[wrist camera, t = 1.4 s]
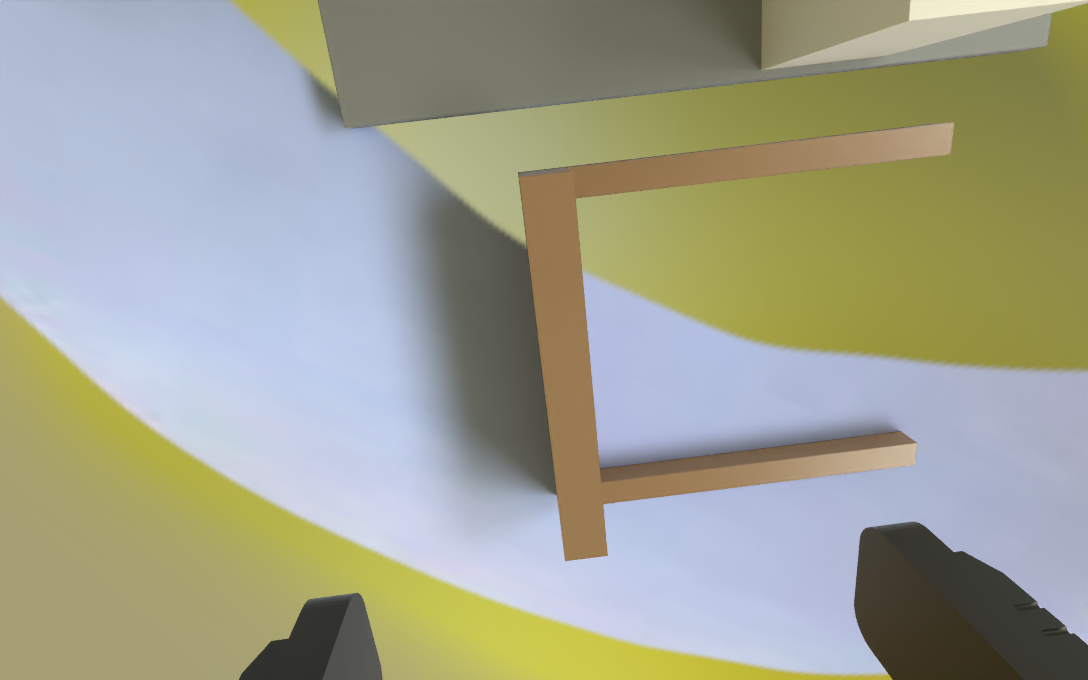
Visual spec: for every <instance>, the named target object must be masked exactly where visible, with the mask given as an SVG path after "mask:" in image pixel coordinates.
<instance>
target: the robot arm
mask: <svg viewBox="0 0 1088 680" xmlns="http://www.w3.org/2000/svg"><path fill="white" fill-rule="evenodd" d="M854 607H855V614H856V619H857V622H858V625H859V628H860V631H861V633H862V635H863V637H864V639H865V641H866V643H867V645H868V646H869V648H870V649H871V650H872V652H873V653H874V655H875V656H876V657H877V659H878V660H879V661H880V663H881V664H882V666H883V667H884V668H885V670H886V671H887V672H888V674H889V675H890V676H891V678H892V679H893V680H1088V645H1087V644H1086V643H1085V642H1084V641H1082V640H1081V639H1080V638H1079V637H1078V636H1077V635H1075V634H1074V633H1073V634H1070V633H1069V632H1068V631H1067V629H1066V626H1065V625H1064V624H1062V623H1061V622H1060V621H1059V620H1058V619H1057V618H1055V617H1054V616H1053V615H1052V614H1051V613H1050V612H1048V611H1047V610H1046V609H1045V608H1039V606H1038V604H1037V601H1035V600H1034V599H1033V598H1032V597H1031V596H1030V595H1028V594H1027V593H1026V592H1025V591H1024V590H1022V589H1021V588H1020V587H1019V586H1018V585H1017V584H1015V583H1014V582H1013V581H1012V580H1011V579H1010V578H1008V577H1007V576H1006V575H1005V574H1004V573H1002V572H1000V571H998V570H996V569H994V568H993V567H991V566H989V565H987V564H985V563H983V562H981V561H980V560H978V559H976V558H974V557H972V556H970V555H968V554H967V553H965V552H963V551H960V552H953V551H952V550H951V549H950V548H948V547H947V546H946V545H945V544H944V543H943V542H942V541H941V540H940V539H938V538H937V537H936V536H935V535H934V534H933V533H932V532H931V531H930V530H928V529H927V528H926V527H925V526H923V525H922V524H920V523H917V522H907V523H899V524H891V525H884V526H876V527H869V528H866V529H864V530H863V532H862V533H861V536H860V544H859V555H858V566H857V577H856V588H855V599H854ZM239 680H382V671H381V665H380V661H379V657H378V653H377V649H376V646H375V642H374V638H373V634H372V630H371V627H370V623H369V619H368V615H367V611H366V608H365V604H364V601H363V598H362V596H361V595H360V594H359V593H353V594H345V595H338V596H331V597H323V598H315V599H310V600H308V601H307V602H306V603H305V604H304V607H303V608H302V610H301V612H300V614H299V617H298V619H297V621H296V624H295V626H294V628H293V630H292V632H291V635H290V637H289V639H283V640H276V641H271V642H270V643H269V644H268V645H267V646H266V648H265V649H264V650H263V651H262V652H261V653H260V654H259V655H258V656H257V658H256V659H255V660H254V661H253V662H252V663H251V664H250V665H249V666H248V667H247V668H246V670H245V671H244V672H243V673H242V674H241V677H240V678H239Z"/></svg>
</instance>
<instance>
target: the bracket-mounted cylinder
mask: <svg viewBox="0 0 1088 680" xmlns="http://www.w3.org/2000/svg"><path fill="white" fill-rule="evenodd" d="M1086 3H1088V0H318V4H319V8H320V13H321V18H322V23H323V28H324V33H325V37H326V42H327V46H328V51H329V56H330V61H331V66H332V71H333V75H334V80H335V85H336V90H337V95H338V99H339V104H340V109H341V114H342V118H343V123H344V127H348V128H360V127H369V126H377V125H386V124H394V123H403V122H412V121H421V120H429V119H438V118H447V117H454V116H464V115H473V114H481V113H489V112H499V111H507V110H516V109H524V108H532V107H541V106H551V105H559V104H567V103H577V102H584V101H594V100H602V99H611V98H620V97H628V96H636V95H646V94H654V93H662V92H671V91H680V90H689V89H698V88H706V87H715V86H724V85H732V84H741V83H750V82H758V81H767V80H775V79H784V78H793V77H802V76H810V75H819V74H828V73H836V72H845V71H854V70H862V69H871V68H880V67H887V66H896V65H905V64H914V63H922V62H932V61H940V60H949V59H958V58H966V57H975V56H983V55H991V54H1001V53H1009V52H1018V51H1024V50H1029V49H1034V48H1039V47H1044V46H1047V42H1048V35H1049V29H1050V23H1051V16H1052V12H1056V11H1059V10H1063V9H1067V8H1070V7H1075V6H1079V5H1082V4H1086Z"/></svg>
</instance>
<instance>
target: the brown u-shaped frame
mask: <svg viewBox="0 0 1088 680" xmlns="http://www.w3.org/2000/svg"><path fill="white" fill-rule="evenodd" d="M953 128H954V123H940V124H928V125H921V126H911V127H903V128H895V129H886V130H878V131H869V132H860V133H852V134H843V135H835V136H826V137H817V138H809V139H800V140H793V141H783V142H775V143H767V144H758V145H750V146H740V147H732V148H723V149H715V150H707V151H699V152H689V153H682V154H672V155H664V156H655V157H648V158H647V157H646V158H638V159H630V160H621V161H613V162H604V163H595V164H587V165H578V166H569V167H561V168H552V169H544V170H536V171H527V172H518V175H519V184H520V192H521V200H522V209H523V216H524V226H525V234H526V242H527V251H528V259H529V267H530V276H531V284H532V292H533V301H534V309H535V317H536V326H537V334H538V342H539V351H540V359H541V367H542V376H543V384H544V392H545V401H546V409H547V417H548V426H549V434H550V442H551V451H552V459H553V467H554V476H555V484H556V492H557V500H558V508H559V516H560V524H561V532H562V540H563V548H564V555H565V561H570V560H578V559H586V558H593V557H601V556H608V554H607V543H606V532H605V520H604V509H603V504H608V503H615V502H623V501H631V500H639V499H647V498H655V497H663V496H671V495H679V494H687V493H695V492H703V491H711V490H719V489H727V488H735V487H743V486H751V485H759V484H767V483H775V482H783V481H791V480H799V479H807V478H815V477H823V476H831V475H839V474H847V473H855V472H862V471H870V470H878V469H886V468H894V467H902V466H910V465H915V458H916V449H917V443H916V442H915V441H914V440H912V439H911V438H909V437H908V436H907V435H905V434H904V433H902V432H901V431H900V432H892V433H883V434H875V435H867V436H859V437H851V438H843V439H835V440H827V441H819V442H811V443H803V444H795V445H787V446H779V447H771V448H763V449H755V450H747V451H739V452H731V453H723V454H715V455H707V456H699V457H691V458H683V459H675V460H667V461H659V462H651V463H643V464H635V465H627V466H619V467H611V468H603V469H600V465H599V454H598V443H597V431H596V420H595V409H594V398H593V387H592V376H591V365H590V354H589V342H588V331H587V320H586V309H585V298H584V287H583V276H582V265H581V253H580V242H579V231H578V220H577V209H576V198H583V197H590V196H600V195H608V194H616V193H624V192H634V191H642V190H651V189H659V188H668V187H676V186H685V185H693V184H702V183H710V182H718V181H727V180H736V179H744V178H752V177H761V176H769V175H778V174H786V173H795V172H804V171H812V170H821V169H829V168H837V167H846V166H854V165H863V164H871V163H879V162H888V161H896V160H905V159H914V158H922V157H930V156H939V155H948V154H950V153H951V145H952V137H953Z"/></svg>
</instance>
